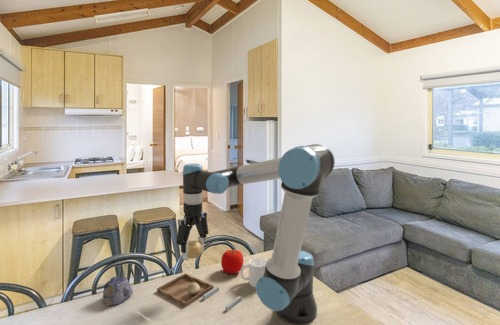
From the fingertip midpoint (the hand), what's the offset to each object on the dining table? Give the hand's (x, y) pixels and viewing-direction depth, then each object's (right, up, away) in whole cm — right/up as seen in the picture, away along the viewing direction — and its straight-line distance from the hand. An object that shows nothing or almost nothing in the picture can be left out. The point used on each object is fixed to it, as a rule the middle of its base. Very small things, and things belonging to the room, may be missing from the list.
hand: (193, 255), depth 123 cm
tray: (-4, -16, +3) cm, 17 cm away
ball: (0, -16, 0) cm, 16 cm away
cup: (+25, -15, +9) cm, 31 cm away
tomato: (+15, -14, +19) cm, 28 cm away
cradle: (+12, -17, -4) cm, 21 cm away
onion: (0, -1, 0) cm, 1 cm away
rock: (-30, -17, -2) cm, 35 cm away
